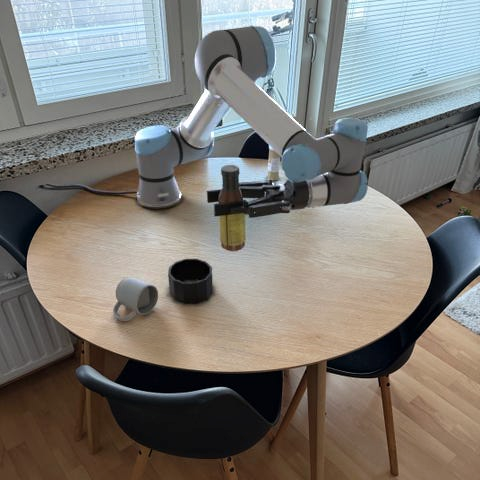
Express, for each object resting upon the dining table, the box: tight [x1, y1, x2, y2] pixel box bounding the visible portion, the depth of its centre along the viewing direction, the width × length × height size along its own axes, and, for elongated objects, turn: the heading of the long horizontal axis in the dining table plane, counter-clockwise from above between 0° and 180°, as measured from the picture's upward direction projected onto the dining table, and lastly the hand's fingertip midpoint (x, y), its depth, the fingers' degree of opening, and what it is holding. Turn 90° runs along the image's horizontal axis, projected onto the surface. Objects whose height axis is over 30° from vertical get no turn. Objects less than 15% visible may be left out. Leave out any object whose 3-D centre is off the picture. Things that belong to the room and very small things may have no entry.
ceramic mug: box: [112, 277, 159, 322], centre depth 106 cm, size 11×8×8 cm
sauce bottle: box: [217, 164, 246, 252], centre depth 103 cm, size 7×6×20 cm
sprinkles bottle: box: [266, 144, 281, 181], centre depth 165 cm, size 5×5×13 cm
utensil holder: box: [167, 258, 214, 305], centre depth 112 cm, size 11×11×6 cm
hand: (211, 203), depth 100 cm, fingers closed on sauce bottle, 6 cm apart
